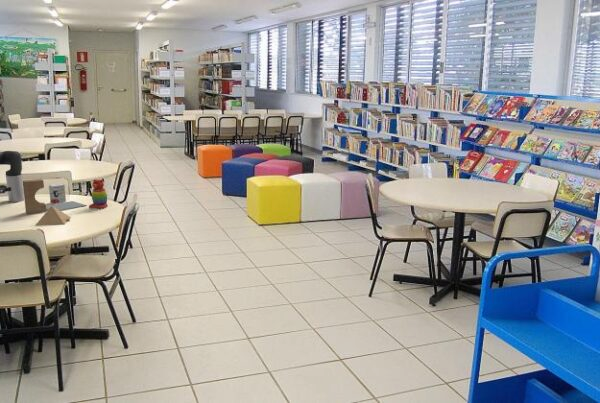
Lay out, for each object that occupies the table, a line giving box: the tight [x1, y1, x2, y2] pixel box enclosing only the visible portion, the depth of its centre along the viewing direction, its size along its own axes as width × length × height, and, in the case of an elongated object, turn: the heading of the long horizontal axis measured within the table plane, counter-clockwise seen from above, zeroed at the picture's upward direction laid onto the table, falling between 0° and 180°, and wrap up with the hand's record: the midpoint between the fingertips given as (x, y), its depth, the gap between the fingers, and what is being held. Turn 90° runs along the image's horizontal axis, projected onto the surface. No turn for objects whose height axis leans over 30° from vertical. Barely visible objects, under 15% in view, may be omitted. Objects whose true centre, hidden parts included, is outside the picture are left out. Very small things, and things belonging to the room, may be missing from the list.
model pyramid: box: [35, 206, 72, 227], centre depth 325 cm, size 17×17×10 cm
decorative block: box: [22, 178, 47, 215], centre depth 345 cm, size 11×6×20 cm, turn 122°
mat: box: [46, 200, 87, 212], centre depth 360 cm, size 17×22×1 cm
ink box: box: [48, 183, 67, 205], centre depth 371 cm, size 9×5×12 cm, turn 136°
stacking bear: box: [88, 178, 108, 210], centre depth 359 cm, size 11×10×18 cm
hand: (7, 187), depth 331 cm, fingers open, 8 cm apart
